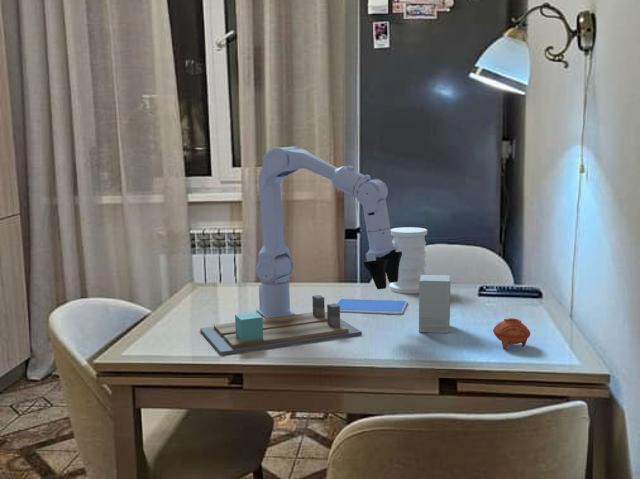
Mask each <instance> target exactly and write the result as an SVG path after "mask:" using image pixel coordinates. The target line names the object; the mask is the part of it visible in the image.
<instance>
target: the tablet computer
mask: <svg viewBox="0 0 640 479" xmlns="http://www.w3.org/2000/svg"><path fill="white" fill-rule="evenodd" d="M335 304H337V305H339V306H340V313H342V314H343V313H345V314H346V313H348V314H349V313H351V314H371V315H373V314H374V315H376V314H377V315H395V316H396V315H397V316H402V315H403V314H404V312H405V310H406V308H407V306H408V304H409V303H408V301H406V300H387V299H383V300H382V299H360V298H359V299H356V298H353V299H352V298H340V299H339V300H338V301H337V302H336V303H335Z"/></svg>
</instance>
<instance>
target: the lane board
mask: <svg viewBox="0 0 640 479" xmlns="http://www.w3.org/2000/svg"><path fill="white" fill-rule="evenodd" d="M325 315H327V311H325ZM340 324H341V325H343V326H345V327H346V328H348V332H346V333H339V334H331V335H324V336H317V337H310V338H303V339H296V340H289V341H282V342H275V343H268V344H261V345H254V346H247V347H240V348H232V347H231V346H230V345H229V344H228V343H227V342H226V341H225V340H224V337H222V336H221V335H220V334H219V333H218V332H217V331H216V330H215V329H214V326H209V327H200V328H199V330H200V331H199V332H200V333H201V334H202V335H203V336H204V337H205V339H207V341H208V343H210V344H211V346H212V347H213V348H214V349H215V350H216V351H217V353H218V354H219V355H220V356H226V355H234V354H241V353H247V352H254V351H262V350H269V349H274V348H281V347H288V346H294V345H302V344H310V343H317V342H323V341H329V340H337V339H343V338H350V337H358V336H362V335H363V331H361V330H360V329H358V328H356V327H354V326H353V325H351V324H350V323H348V322H346V321H344V320H343V319H341V318H340Z"/></svg>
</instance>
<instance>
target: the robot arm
mask: <svg viewBox="0 0 640 479" xmlns="http://www.w3.org/2000/svg"><path fill="white" fill-rule="evenodd" d="M301 169H305V170H307V171H310V172H312V173H314V174H317V175H319V176H322V177H323V178H325V179H328V180H330V181H331V182H332V184H333V187H334V188H335V189H338V190H339V191H340V192H341V191H342V192H344V193H345V194H348V195H350V196H352V197H354V198H355V199H357V201H358V203H359V204H360V205H361V206H362V210H363V215H364V222H365V229H366V233H367V241H368V247H369V249H368V251H367V252H366V253H365V257H366V258H365V259H366V260H364V261H363V266H364V267H365V268H366V270H367V271H368V273H369V274H370V276H371V279H372V280H373V282H374V285H375V287H376V290H383V289H387V280H388V282H389V284H391V283H393V282H398V272H399V263H400V259H401V256H402V251H399V252H396V251H397V249H398V246H397V244H396V243H393V241H392V240H393V236H392V235H391V229H392V228H391V223H390V219H389V217H390V216H389V211H388V205H387V200H386V199H387V198H388V194H389V189H388V186H387V184H386V183H385V182H384V181H382V180H381V179H380V178H374V179H373V178H372V179H371V175H369V174H365V175H364V174H363V173H360V172H359V171H357V170H354V169H355V167H353V166H352V165H347V166H346V165H342V166H340V167H338V166H337V167H336V166H335V165H333V164H331V163H329V162H328V161H326V160H323V159H321V157H318V156H316V155H314V154H313V153H311V152H309V151H308V150H306V149H303V148H300V147H298V146H296V145H295V146H294V145H291V146H287V147H272V148H270V149H269V150H268V151H267V152H266V153H265V154H264V155H263V156H262V166H261V169H260V171H259V175H258V192H259V193H258V194H259V201H260V202H259V203H260V204H259V205H260V215H261V216H260V217H261V230H262V242H263V243H262V244H263V245H262V247H261V249H260V250H259V252H258V254H257V256H258V257H257V264H256V267H255V271H256V275H257V277H258V279H259V280H260V284H259V286H258V295H259V296H258V298H259V299H258V300H259V307H258V308H256V310H255V312H257V313H258V314H259V315H262V317H264V318H272V317H280V316H288V315H296V312H295V311H292V309H291V304H290V303H291V302H290V301H291V300H290V298H291V296H290V294H291V293H290V276H291V274H292V272H293V271H294V260H293V259H292V257H291V252H290V248H289V247H288V246H287V245H286V244H285V234H284V220H283V207H282V193H281V184H282V182H283V181H285V179H286V178H287V177H288V176H289V175H291V174H293V173H295V172H297V171H298V170H301Z"/></svg>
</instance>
